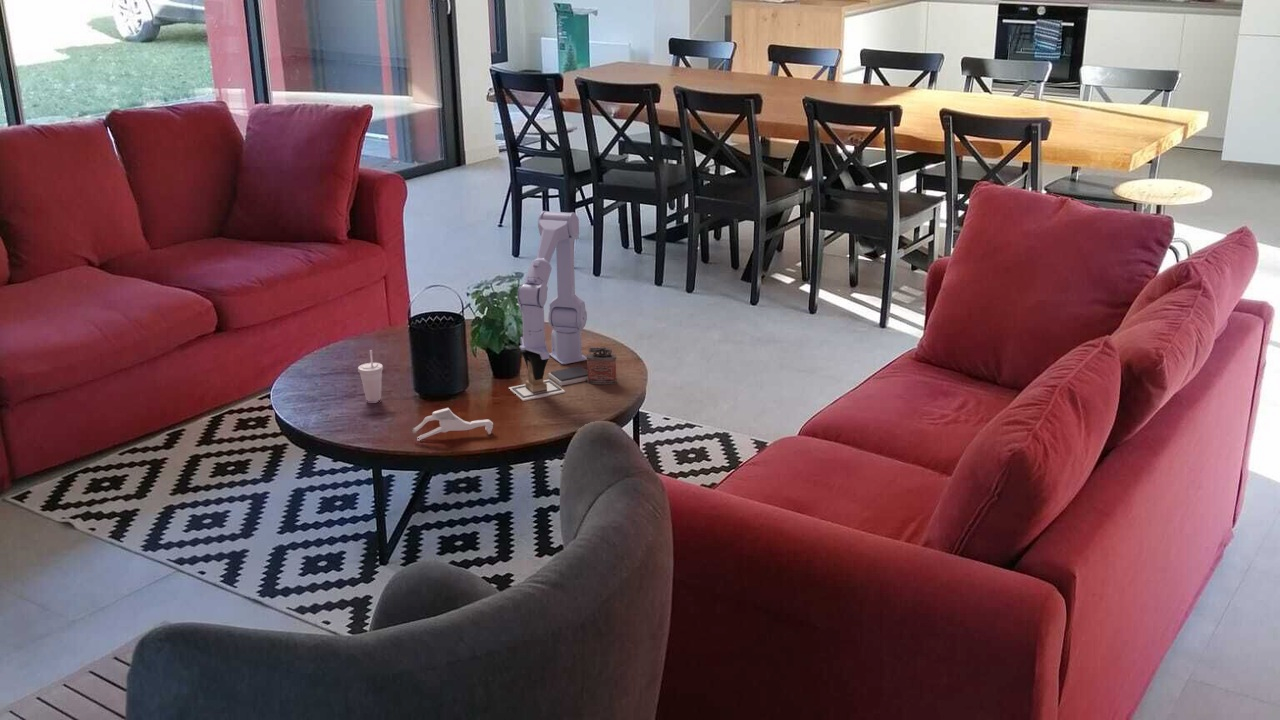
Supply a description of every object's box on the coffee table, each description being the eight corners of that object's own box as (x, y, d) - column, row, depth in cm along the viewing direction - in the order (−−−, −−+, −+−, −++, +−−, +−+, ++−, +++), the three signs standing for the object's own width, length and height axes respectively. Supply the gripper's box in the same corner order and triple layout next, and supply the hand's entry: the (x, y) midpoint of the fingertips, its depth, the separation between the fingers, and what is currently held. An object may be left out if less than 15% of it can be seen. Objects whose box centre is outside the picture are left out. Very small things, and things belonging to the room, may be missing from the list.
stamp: (525, 387, 330) (524, 359, 327) (539, 385, 331) (538, 357, 329) (533, 393, 325) (531, 365, 323) (547, 391, 327) (545, 362, 324)
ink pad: (548, 376, 338) (548, 371, 338) (581, 370, 343) (581, 365, 342) (560, 385, 332) (560, 380, 331) (593, 379, 336) (593, 373, 335)
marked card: (508, 388, 330) (508, 386, 330) (549, 380, 335) (549, 378, 335) (523, 401, 322) (523, 398, 322) (565, 392, 327) (565, 390, 327)
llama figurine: (430, 464, 301) (496, 431, 302) (408, 426, 297) (476, 393, 297) (429, 460, 303) (496, 428, 304) (408, 423, 298) (475, 390, 299)
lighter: (617, 379, 335) (616, 345, 332) (616, 384, 332) (615, 349, 329) (588, 379, 336) (587, 344, 332) (586, 383, 333) (585, 348, 329)
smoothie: (391, 400, 324) (386, 350, 319) (370, 407, 319) (365, 356, 314) (376, 394, 328) (371, 345, 323) (356, 401, 323) (351, 351, 318)
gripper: (508, 323, 327) (511, 371, 331) (530, 338, 315) (533, 388, 319) (533, 319, 330) (535, 366, 335) (555, 334, 318) (557, 383, 322)
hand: (536, 376), depth 327 cm, fingers closed on stamp, 3 cm apart
